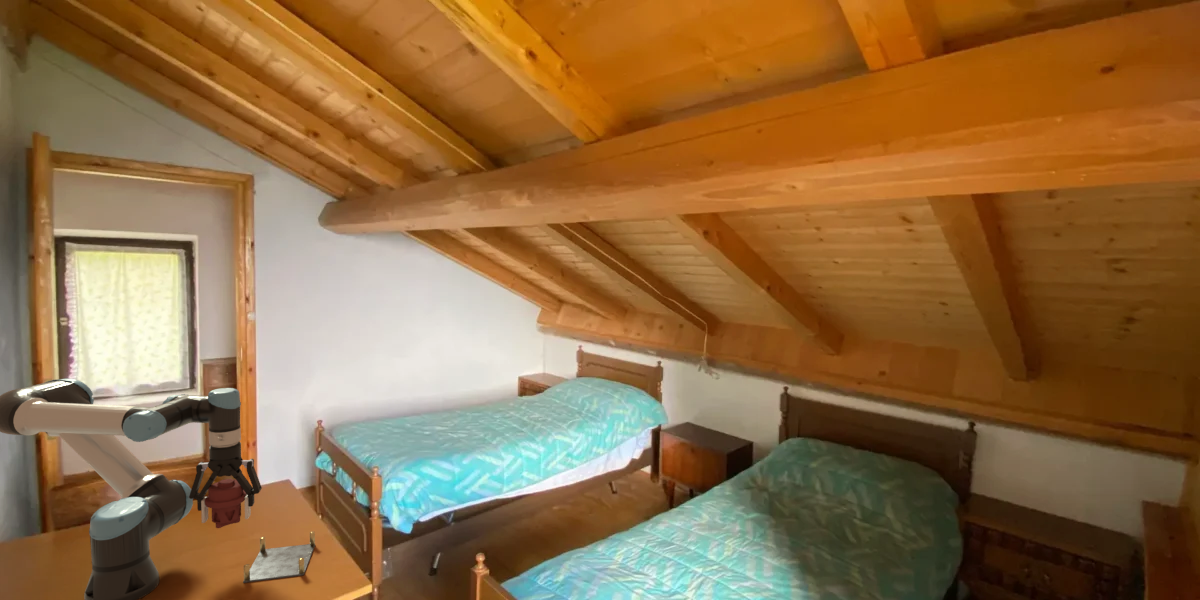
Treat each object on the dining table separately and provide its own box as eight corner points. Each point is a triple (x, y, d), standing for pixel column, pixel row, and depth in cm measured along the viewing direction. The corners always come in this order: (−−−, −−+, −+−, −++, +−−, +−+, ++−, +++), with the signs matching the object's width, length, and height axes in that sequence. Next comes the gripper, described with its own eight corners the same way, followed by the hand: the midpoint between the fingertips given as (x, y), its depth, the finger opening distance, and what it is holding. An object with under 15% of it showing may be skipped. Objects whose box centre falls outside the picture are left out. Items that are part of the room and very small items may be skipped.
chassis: (243, 582, 155) (242, 567, 155) (260, 551, 171) (260, 536, 171) (303, 575, 159) (303, 560, 159) (315, 544, 176) (315, 531, 175)
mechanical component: (255, 517, 166) (226, 533, 156) (226, 513, 168) (196, 528, 158) (255, 476, 165) (225, 490, 155) (226, 472, 167) (195, 486, 157)
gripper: (172, 450, 153) (174, 529, 155) (266, 445, 160) (267, 520, 162) (184, 441, 160) (186, 516, 162) (273, 436, 167) (274, 509, 169)
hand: (226, 518), depth 162 cm, fingers closed on mechanical component, 10 cm apart
